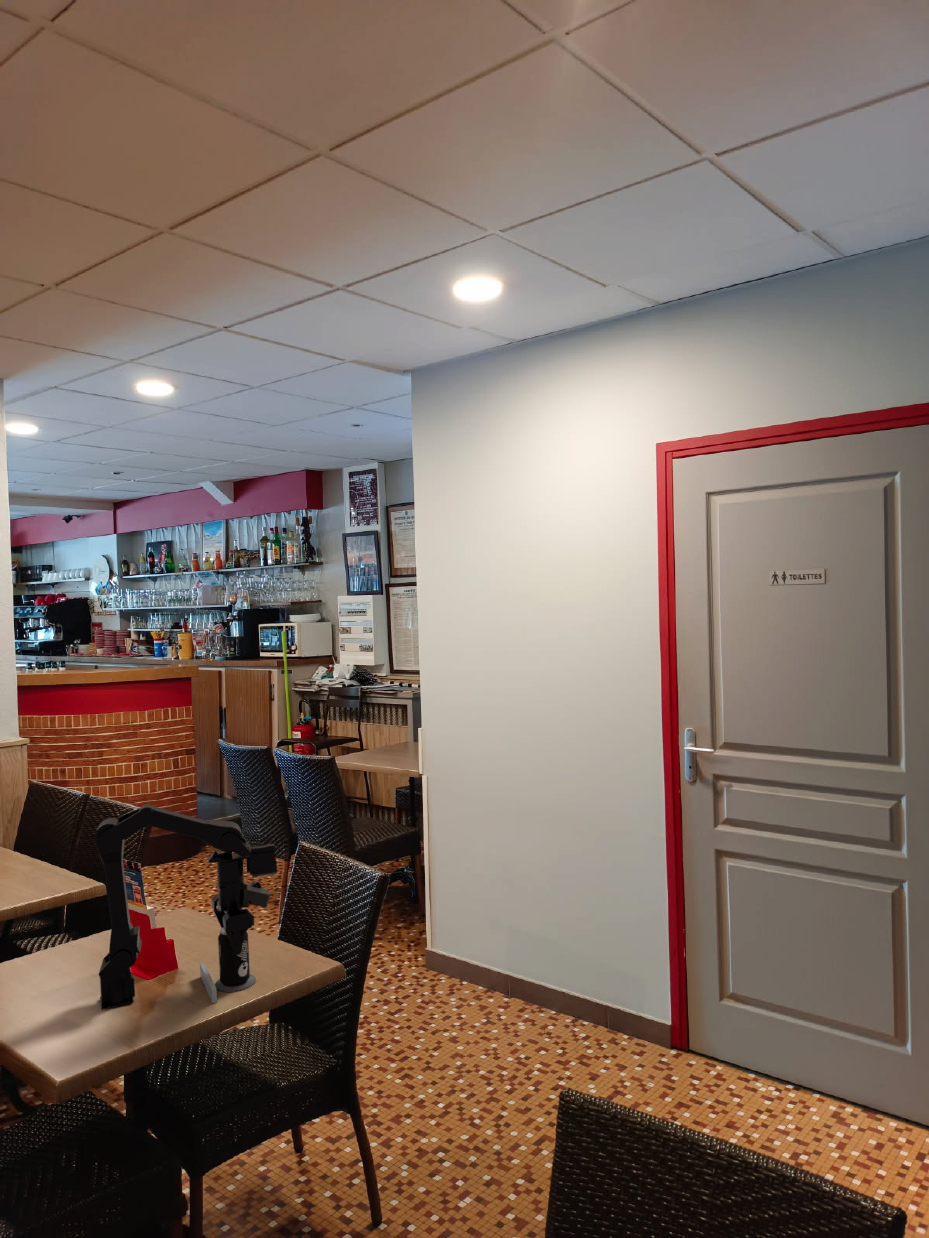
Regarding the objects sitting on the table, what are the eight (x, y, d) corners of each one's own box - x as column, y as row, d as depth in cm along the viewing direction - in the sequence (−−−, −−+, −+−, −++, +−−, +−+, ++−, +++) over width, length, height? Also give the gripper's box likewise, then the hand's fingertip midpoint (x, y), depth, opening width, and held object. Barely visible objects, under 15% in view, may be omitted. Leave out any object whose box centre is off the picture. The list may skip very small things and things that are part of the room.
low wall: (212, 1003, 194) (211, 989, 194) (200, 976, 209) (200, 963, 209) (217, 1002, 195) (216, 988, 195) (204, 975, 209) (204, 962, 209)
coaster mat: (218, 995, 198) (218, 993, 198) (212, 980, 207) (211, 978, 207) (259, 986, 202) (259, 984, 202) (251, 972, 210) (251, 970, 210)
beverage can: (232, 990, 200) (230, 936, 200) (214, 983, 204) (211, 930, 204) (256, 979, 205) (253, 927, 205) (237, 973, 209) (235, 921, 209)
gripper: (275, 883, 199) (278, 954, 199) (257, 863, 216) (260, 928, 216) (224, 892, 194) (227, 964, 195) (209, 870, 211) (212, 937, 211)
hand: (233, 947), depth 204 cm, fingers open, 9 cm apart
